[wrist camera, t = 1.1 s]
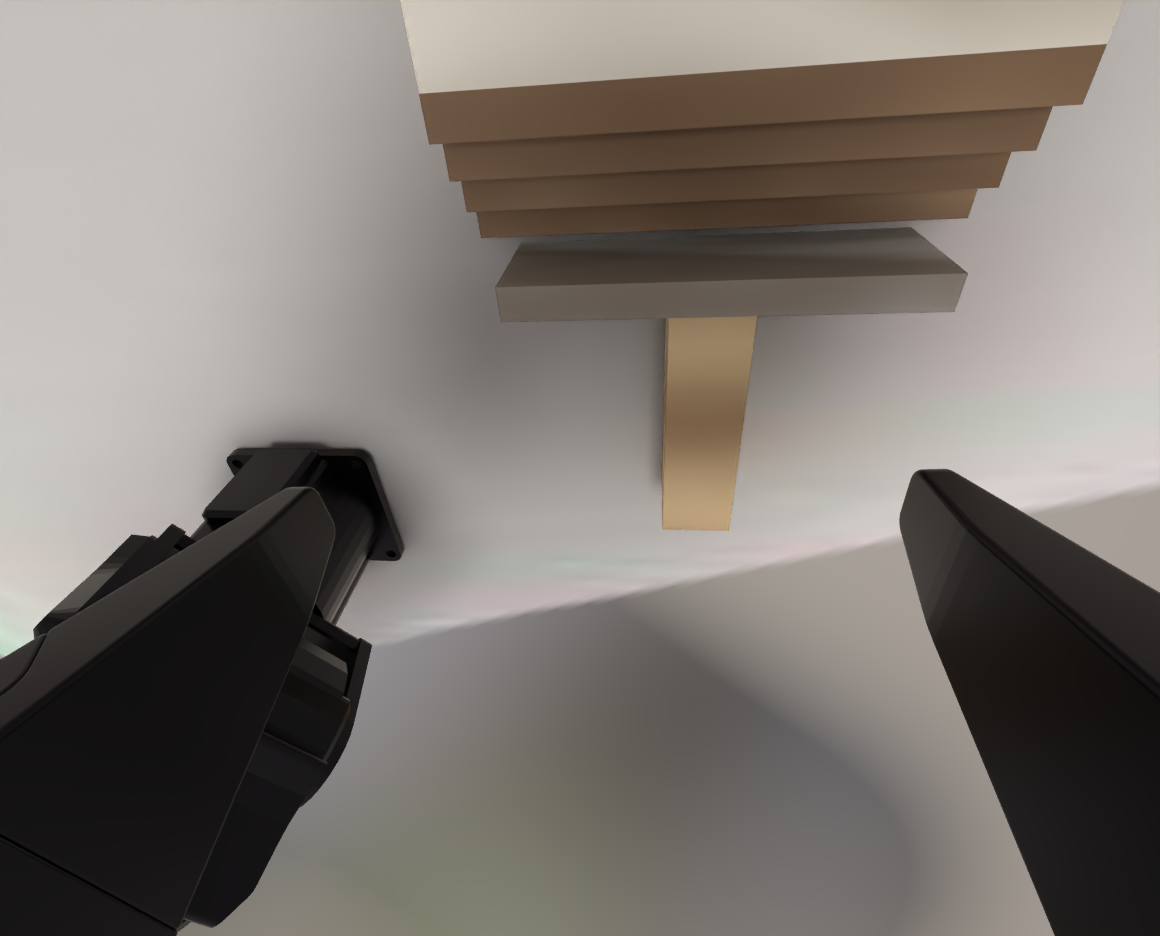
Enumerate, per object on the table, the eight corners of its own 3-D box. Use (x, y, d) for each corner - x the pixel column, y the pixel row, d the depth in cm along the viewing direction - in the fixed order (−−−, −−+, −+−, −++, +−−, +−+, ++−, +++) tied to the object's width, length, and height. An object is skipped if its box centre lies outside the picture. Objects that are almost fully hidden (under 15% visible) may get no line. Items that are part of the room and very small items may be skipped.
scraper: (839, 481, 23) (868, 553, 20) (551, 478, 25) (536, 545, 22) (910, 226, 17) (967, 273, 14) (521, 242, 19) (495, 287, 15)
